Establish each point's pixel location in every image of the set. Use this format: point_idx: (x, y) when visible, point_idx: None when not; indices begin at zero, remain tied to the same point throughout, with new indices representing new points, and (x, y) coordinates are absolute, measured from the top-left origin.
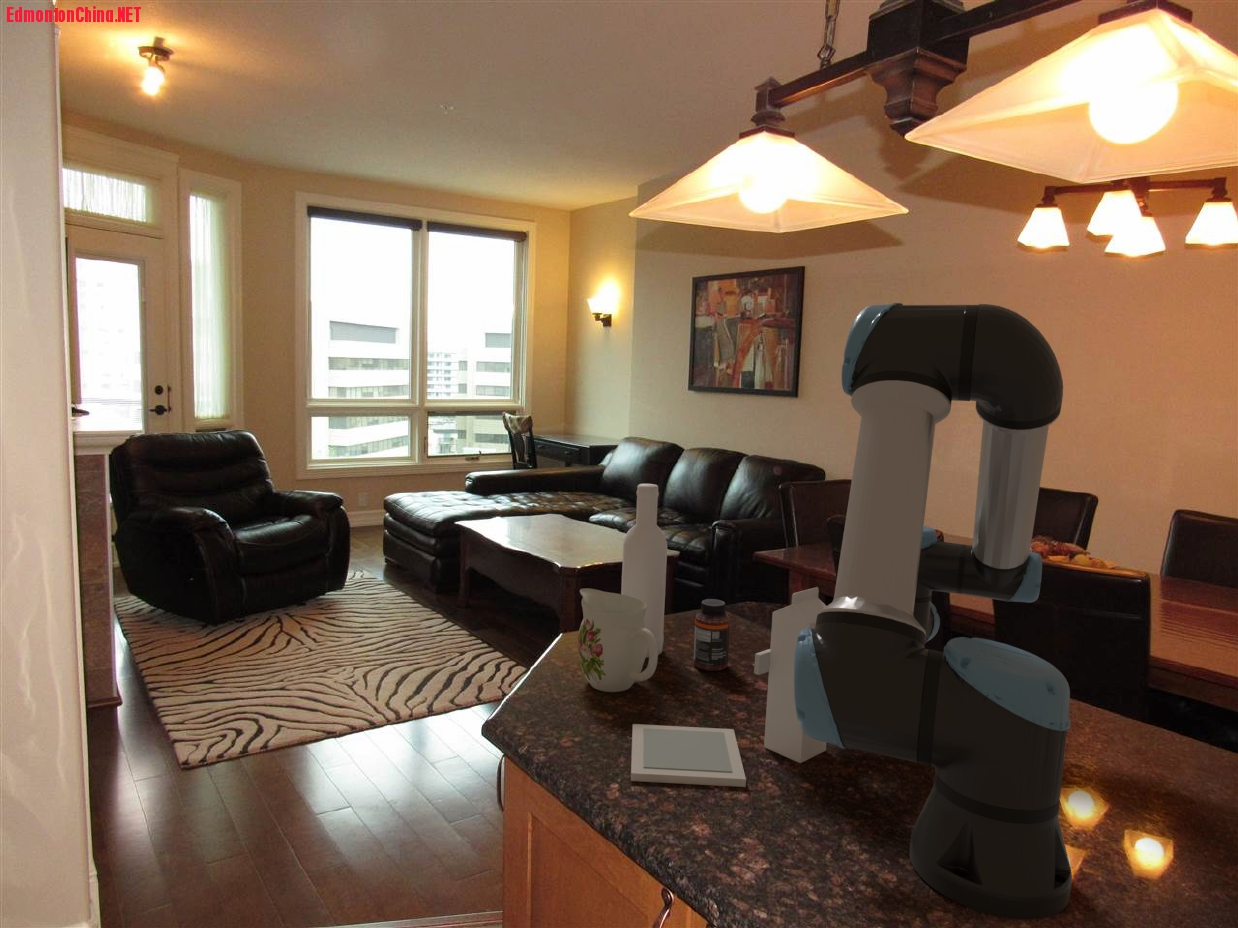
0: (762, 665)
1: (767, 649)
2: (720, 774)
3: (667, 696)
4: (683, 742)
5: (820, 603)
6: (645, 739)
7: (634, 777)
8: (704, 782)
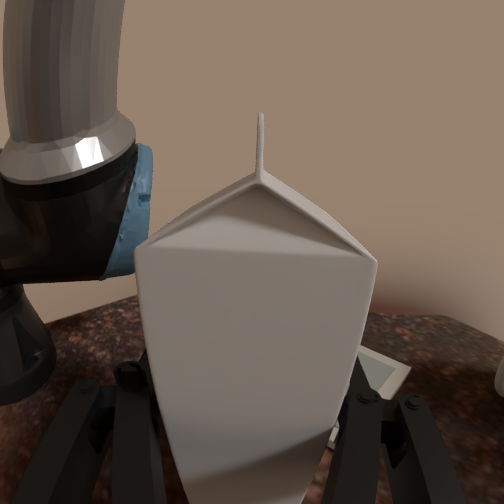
0: None
1: (358, 361)
2: None
3: (491, 443)
4: None
5: (220, 196)
6: (369, 358)
7: None
8: None
